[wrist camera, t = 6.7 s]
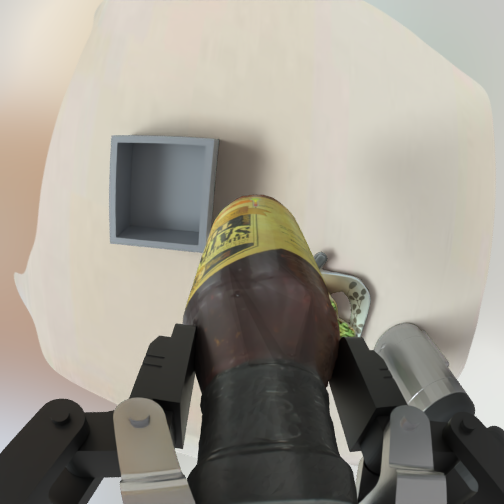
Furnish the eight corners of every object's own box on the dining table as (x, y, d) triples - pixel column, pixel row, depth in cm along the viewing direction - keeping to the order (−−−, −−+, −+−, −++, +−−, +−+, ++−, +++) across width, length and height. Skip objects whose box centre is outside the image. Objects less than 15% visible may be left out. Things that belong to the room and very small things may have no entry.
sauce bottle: (235, 176, 22) (191, 414, 3) (311, 215, 23) (478, 453, 4) (197, 254, 24) (114, 525, 5) (269, 287, 25) (310, 552, 6)
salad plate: (260, 239, 41) (261, 252, 37) (382, 257, 42) (395, 270, 38) (240, 355, 48) (240, 374, 43) (346, 362, 49) (353, 380, 44)
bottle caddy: (219, 139, 36) (214, 138, 31) (210, 237, 40) (205, 252, 35) (129, 135, 35) (111, 135, 30) (126, 229, 40) (110, 243, 34)
